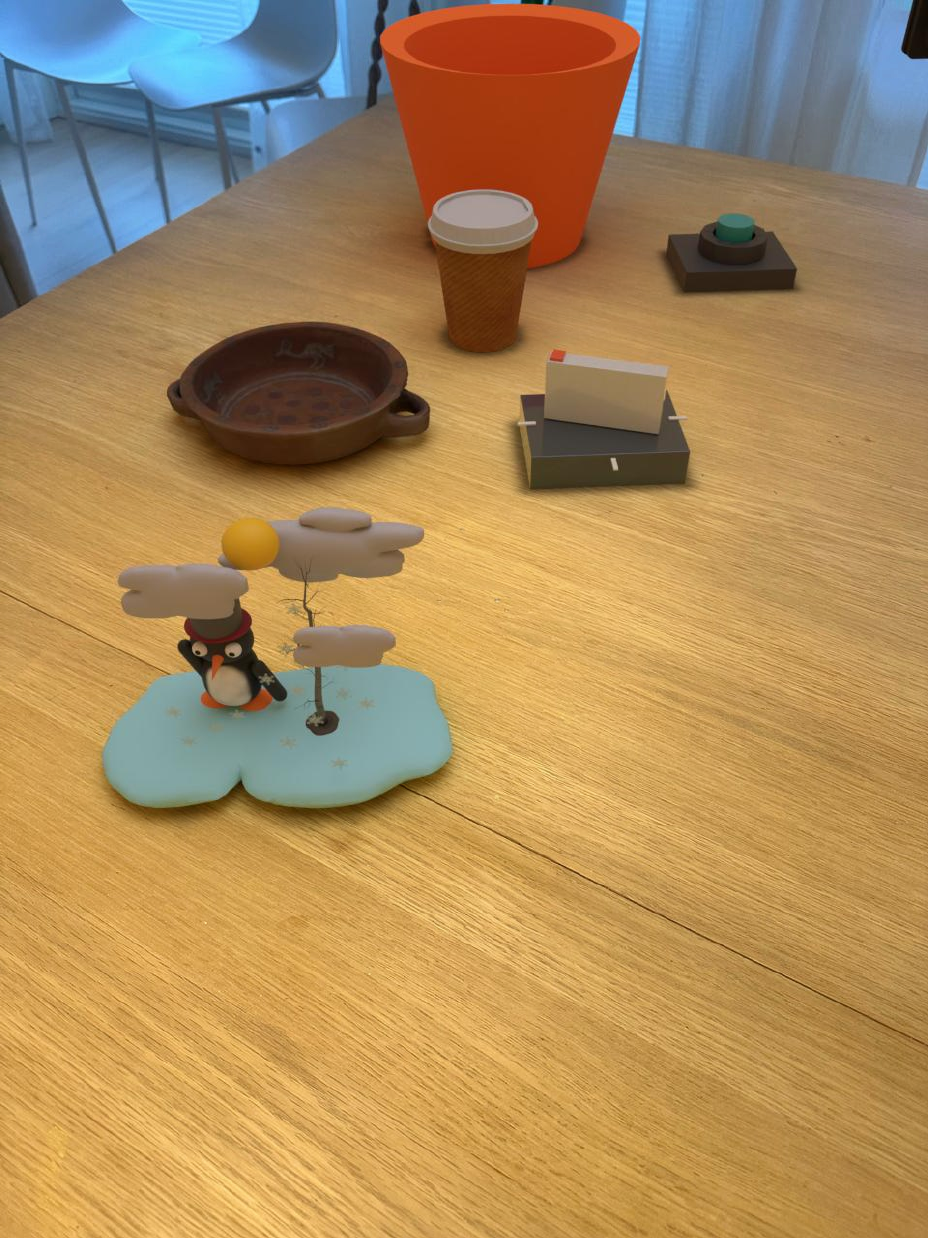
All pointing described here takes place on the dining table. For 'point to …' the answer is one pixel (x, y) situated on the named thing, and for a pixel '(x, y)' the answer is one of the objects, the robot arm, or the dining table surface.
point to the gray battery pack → (605, 392)
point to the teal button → (735, 227)
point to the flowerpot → (512, 106)
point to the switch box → (730, 262)
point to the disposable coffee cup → (482, 264)
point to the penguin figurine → (276, 680)
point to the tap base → (599, 451)
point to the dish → (300, 392)
